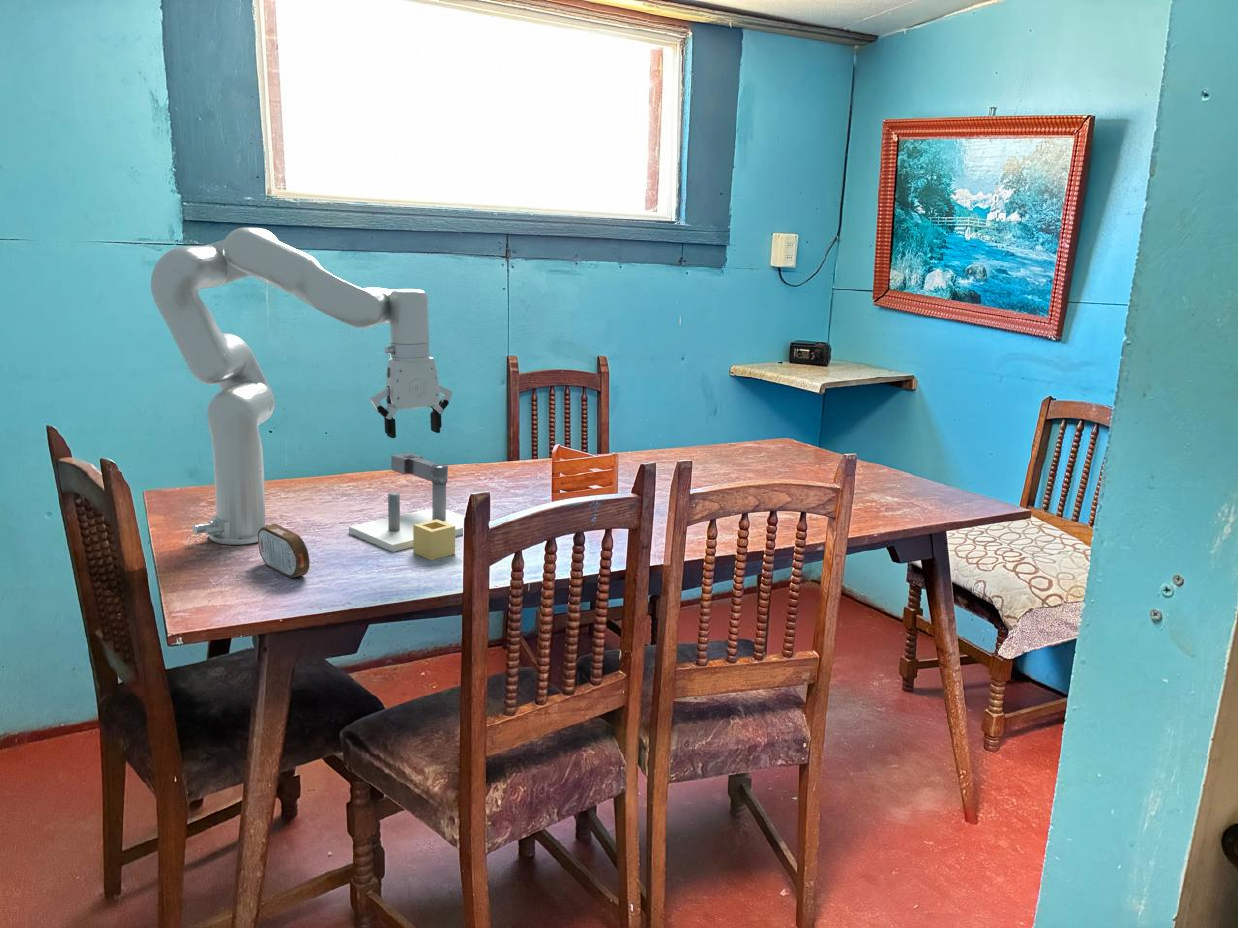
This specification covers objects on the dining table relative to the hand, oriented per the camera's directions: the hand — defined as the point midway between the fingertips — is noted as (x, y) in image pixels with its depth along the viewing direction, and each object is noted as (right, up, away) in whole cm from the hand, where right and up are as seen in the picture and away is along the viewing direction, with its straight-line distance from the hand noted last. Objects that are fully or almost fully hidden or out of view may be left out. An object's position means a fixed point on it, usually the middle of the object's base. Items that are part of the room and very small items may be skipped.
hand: (413, 434), depth 193 cm
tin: (-22, -27, -14) cm, 37 cm away
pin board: (-2, -21, +13) cm, 25 cm away
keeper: (-2, -9, +20) cm, 21 cm away
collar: (+4, -24, 0) cm, 25 cm away
